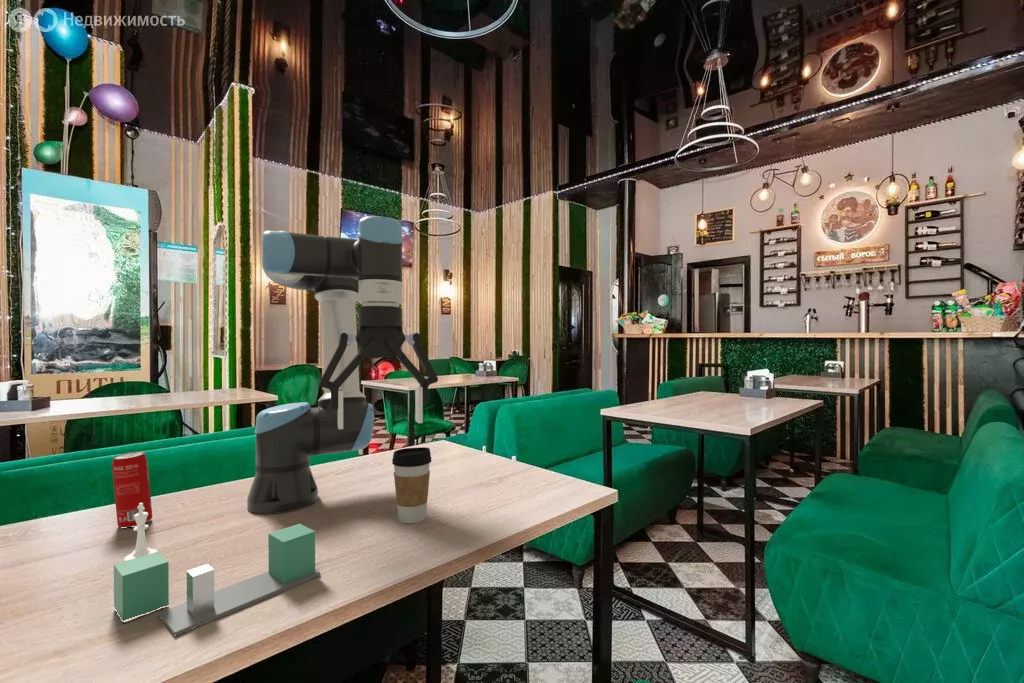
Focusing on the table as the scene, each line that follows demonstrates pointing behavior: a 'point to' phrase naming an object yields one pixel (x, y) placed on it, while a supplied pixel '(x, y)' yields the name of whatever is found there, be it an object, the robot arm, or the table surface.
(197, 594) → the post
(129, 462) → the beverage can
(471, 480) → the table surface
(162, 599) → the green block
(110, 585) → the table surface
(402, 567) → the table surface
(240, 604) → the stand
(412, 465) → the coffee cup
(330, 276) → the robot arm
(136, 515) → the chess piece
